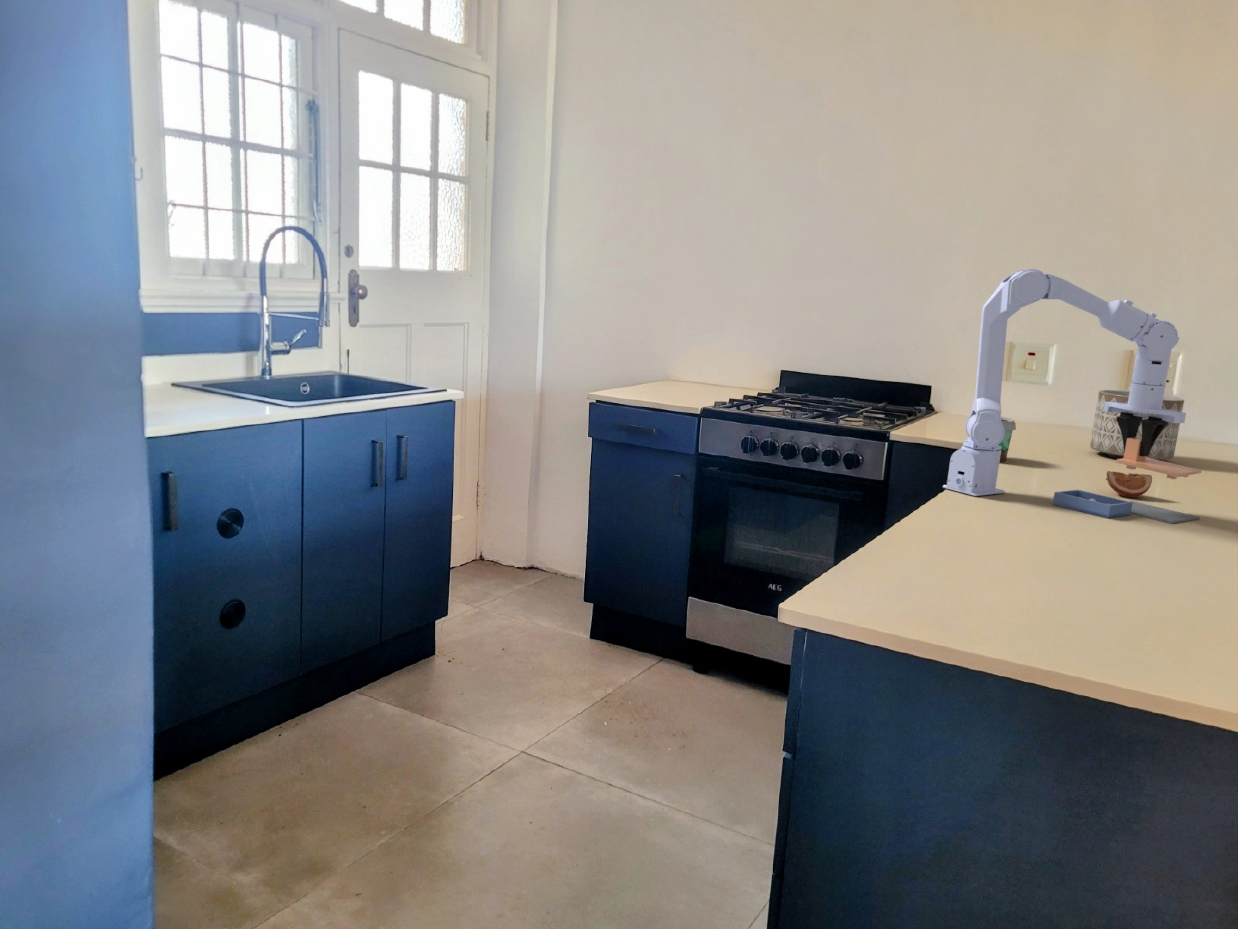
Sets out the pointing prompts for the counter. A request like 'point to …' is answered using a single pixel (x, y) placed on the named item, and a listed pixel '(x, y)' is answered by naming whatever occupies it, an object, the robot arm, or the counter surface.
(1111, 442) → the planter
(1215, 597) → the counter surface
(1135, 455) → the lid
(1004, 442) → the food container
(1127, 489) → the fruit slice
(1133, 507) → the mat
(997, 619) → the counter surface
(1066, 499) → the blue box
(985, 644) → the counter surface
